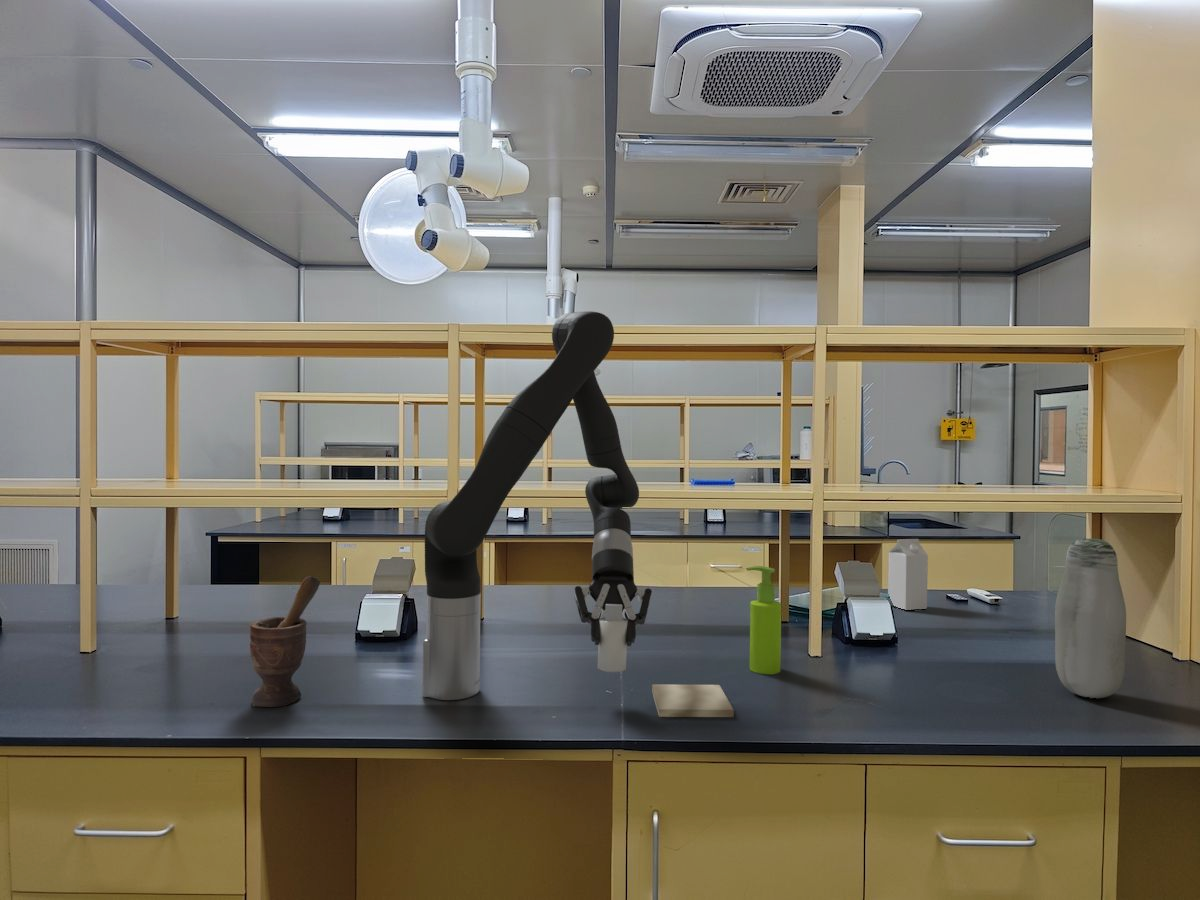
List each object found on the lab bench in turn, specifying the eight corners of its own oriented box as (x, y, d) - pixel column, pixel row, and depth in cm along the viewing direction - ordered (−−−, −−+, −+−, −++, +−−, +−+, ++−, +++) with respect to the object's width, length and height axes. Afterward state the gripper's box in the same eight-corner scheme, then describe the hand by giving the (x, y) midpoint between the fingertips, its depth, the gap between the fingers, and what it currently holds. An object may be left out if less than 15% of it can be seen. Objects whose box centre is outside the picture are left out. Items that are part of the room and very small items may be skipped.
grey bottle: (1111, 710, 120) (1114, 544, 120) (1045, 692, 128) (1047, 537, 128) (1133, 698, 125) (1135, 540, 125) (1068, 682, 134) (1070, 534, 134)
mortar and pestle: (281, 684, 127) (283, 572, 127) (325, 687, 125) (327, 574, 125) (237, 707, 116) (239, 584, 115) (285, 711, 114) (287, 587, 114)
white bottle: (597, 671, 117) (600, 607, 117) (597, 663, 122) (599, 601, 122) (626, 672, 117) (629, 608, 117) (625, 663, 122) (627, 602, 122)
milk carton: (887, 606, 198) (888, 537, 198) (908, 604, 200) (909, 537, 200) (905, 611, 191) (906, 541, 191) (927, 610, 193) (928, 540, 193)
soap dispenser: (753, 662, 144) (754, 563, 144) (785, 669, 139) (786, 567, 139) (739, 668, 139) (740, 567, 139) (772, 676, 135) (773, 571, 135)
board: (659, 716, 114) (659, 709, 114) (651, 691, 126) (651, 684, 126) (733, 717, 114) (733, 709, 114) (719, 691, 126) (719, 684, 126)
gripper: (573, 545, 127) (570, 630, 115) (653, 548, 127) (658, 632, 115) (573, 570, 132) (569, 653, 120) (649, 572, 133) (654, 655, 121)
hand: (613, 642), depth 118 cm, fingers closed on white bottle, 4 cm apart
